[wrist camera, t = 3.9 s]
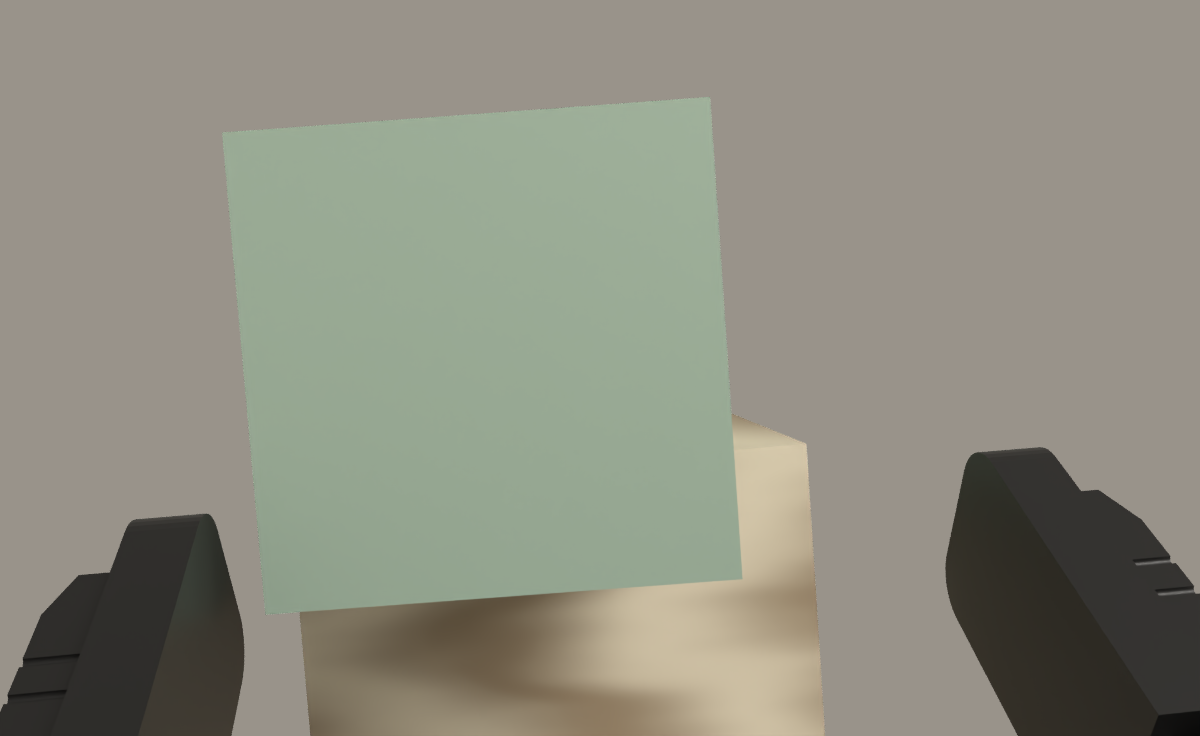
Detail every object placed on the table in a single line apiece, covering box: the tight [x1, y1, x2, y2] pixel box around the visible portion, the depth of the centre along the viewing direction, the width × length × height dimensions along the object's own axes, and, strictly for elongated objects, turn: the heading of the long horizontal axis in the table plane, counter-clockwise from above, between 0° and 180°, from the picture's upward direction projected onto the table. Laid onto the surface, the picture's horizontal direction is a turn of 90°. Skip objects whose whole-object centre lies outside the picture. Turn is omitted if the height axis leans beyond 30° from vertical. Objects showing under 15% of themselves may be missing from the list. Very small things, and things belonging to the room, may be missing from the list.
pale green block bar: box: [222, 97, 743, 614], centre depth 25 cm, size 26×5×5 cm, turn 0°
